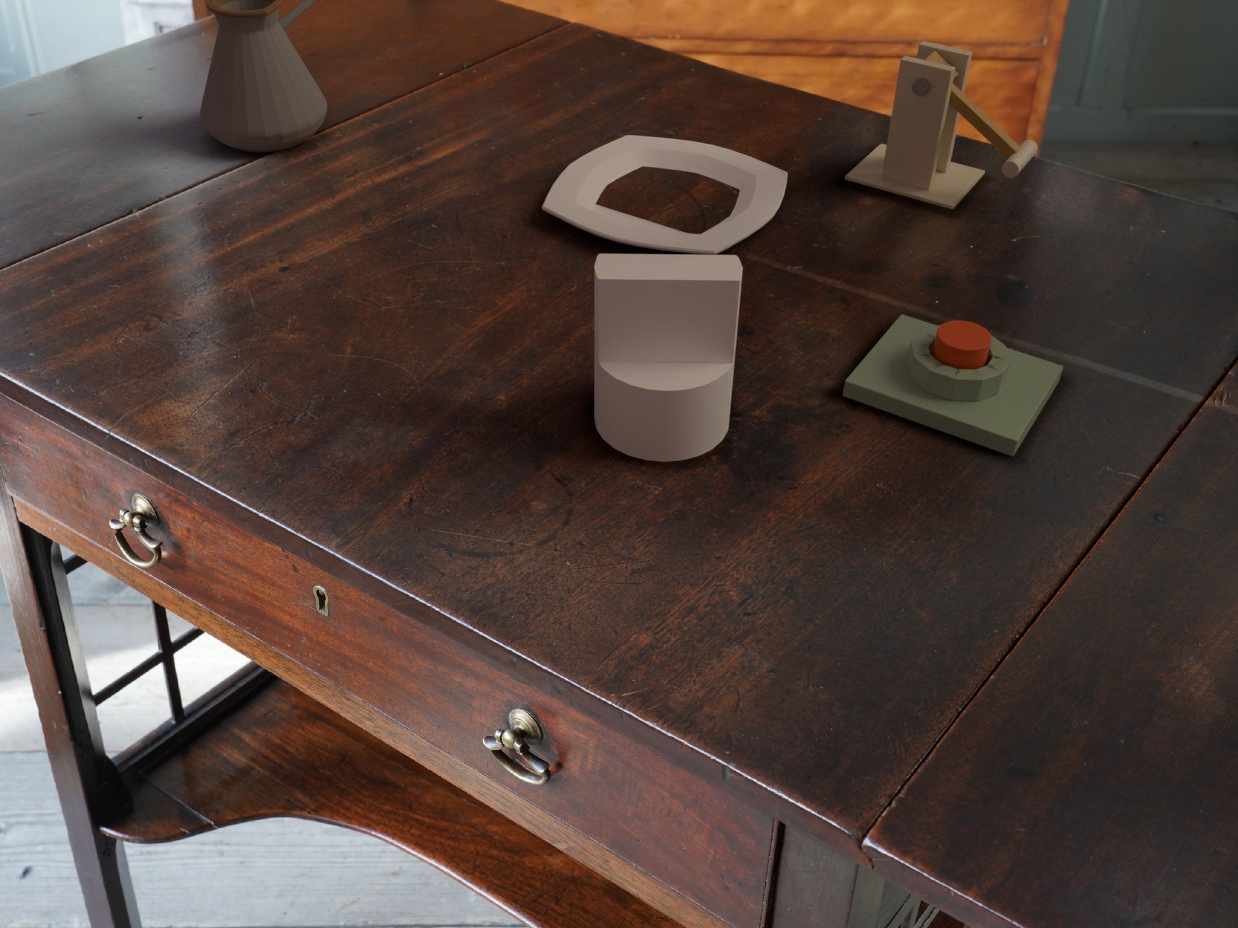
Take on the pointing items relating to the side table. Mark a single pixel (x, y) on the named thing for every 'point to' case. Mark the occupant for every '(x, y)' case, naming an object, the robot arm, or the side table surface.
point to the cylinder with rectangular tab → (664, 351)
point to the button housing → (954, 387)
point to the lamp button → (962, 345)
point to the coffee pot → (259, 79)
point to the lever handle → (989, 128)
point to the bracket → (922, 133)
